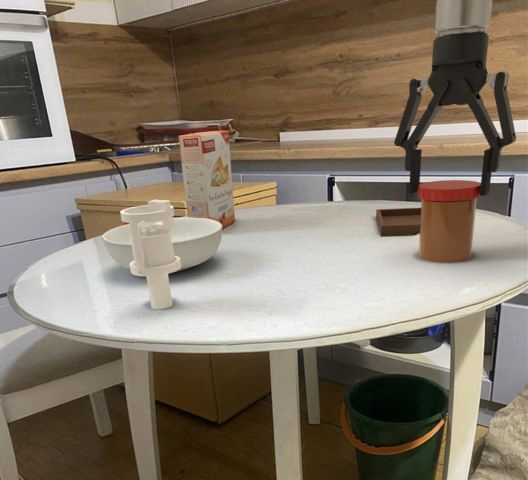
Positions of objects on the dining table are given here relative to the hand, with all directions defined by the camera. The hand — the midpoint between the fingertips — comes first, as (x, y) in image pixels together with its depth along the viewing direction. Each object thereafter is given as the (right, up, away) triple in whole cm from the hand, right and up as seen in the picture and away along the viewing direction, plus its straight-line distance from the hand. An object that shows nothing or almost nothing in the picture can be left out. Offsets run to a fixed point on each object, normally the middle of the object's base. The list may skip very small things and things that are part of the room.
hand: (448, 193), depth 85 cm
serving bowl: (-47, -10, +11) cm, 49 cm away
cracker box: (-41, +3, +40) cm, 57 cm away
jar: (+1, -10, +4) cm, 11 cm away
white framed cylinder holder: (-44, -19, -8) cm, 49 cm away
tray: (+2, +1, +28) cm, 28 cm away
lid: (0, +1, 0) cm, 1 cm away
